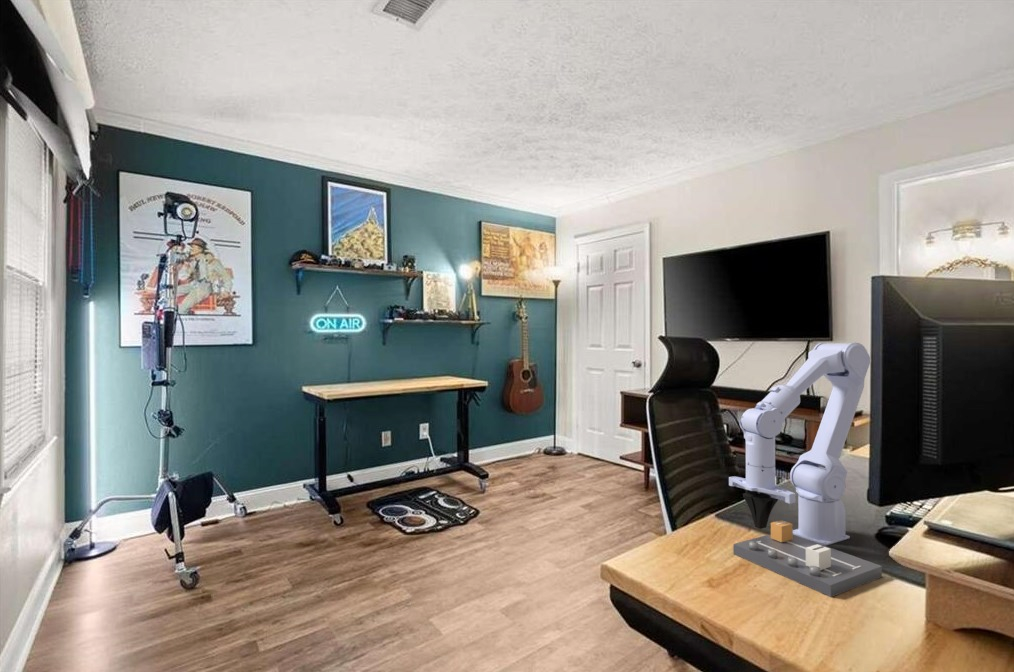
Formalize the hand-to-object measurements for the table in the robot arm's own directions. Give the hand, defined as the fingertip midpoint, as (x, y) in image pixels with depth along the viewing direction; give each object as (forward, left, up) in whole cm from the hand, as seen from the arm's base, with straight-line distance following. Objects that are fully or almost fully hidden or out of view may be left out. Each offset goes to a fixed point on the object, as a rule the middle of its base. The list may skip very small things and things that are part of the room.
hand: (760, 527), depth 106 cm
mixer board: (+3, +11, -3) cm, 12 cm away
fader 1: (0, +5, -1) cm, 5 cm away
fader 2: (+6, +16, -1) cm, 17 cm away
